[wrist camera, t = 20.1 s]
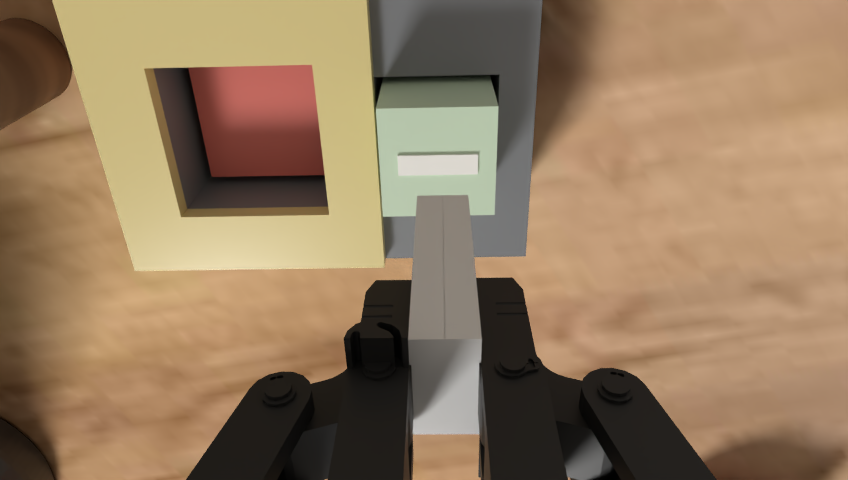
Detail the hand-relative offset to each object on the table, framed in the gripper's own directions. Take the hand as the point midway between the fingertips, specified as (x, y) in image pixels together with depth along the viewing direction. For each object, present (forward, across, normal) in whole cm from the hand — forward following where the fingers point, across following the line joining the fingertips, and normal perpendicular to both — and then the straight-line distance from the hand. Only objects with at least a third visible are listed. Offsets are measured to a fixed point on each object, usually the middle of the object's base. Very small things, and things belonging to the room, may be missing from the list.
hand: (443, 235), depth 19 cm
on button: (+10, 0, 0) cm, 10 cm away
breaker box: (+15, -5, 0) cm, 15 cm away
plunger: (+13, -8, 0) cm, 16 cm away
